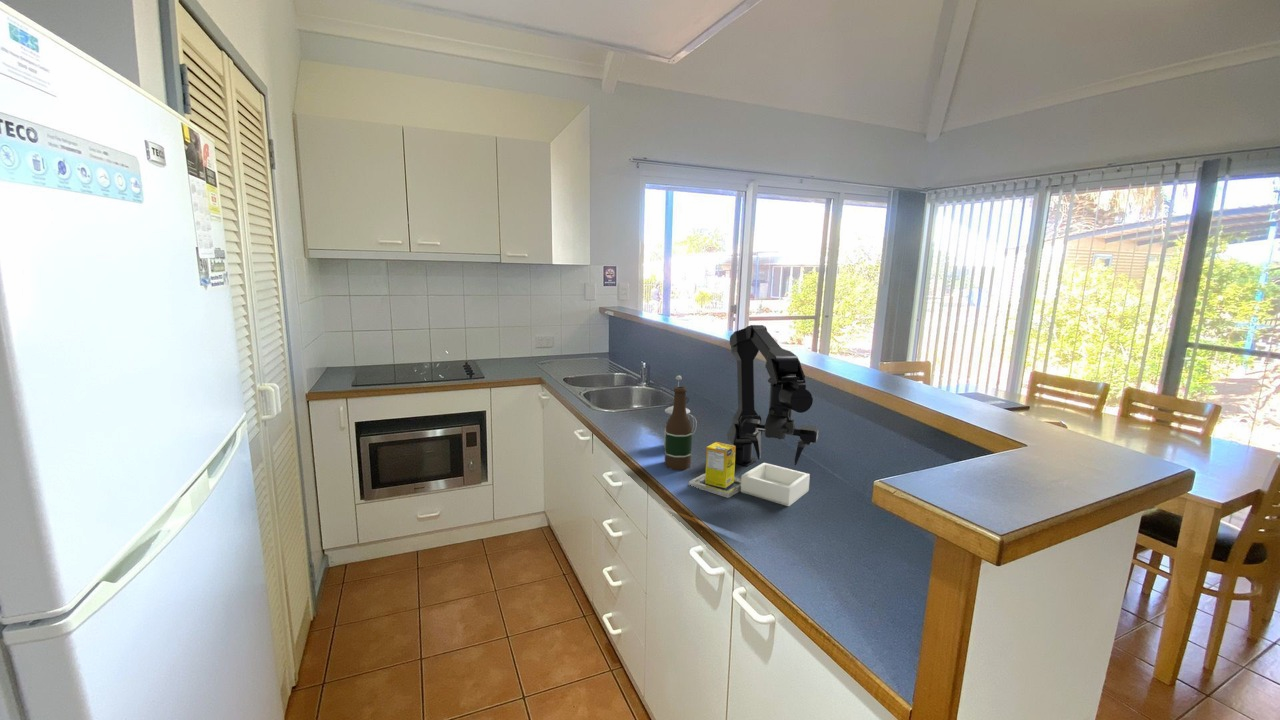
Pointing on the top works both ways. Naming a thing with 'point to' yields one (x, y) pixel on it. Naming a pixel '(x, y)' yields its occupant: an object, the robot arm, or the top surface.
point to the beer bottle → (678, 434)
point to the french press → (670, 410)
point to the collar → (715, 490)
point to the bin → (775, 483)
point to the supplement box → (720, 465)
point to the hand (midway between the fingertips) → (777, 462)
